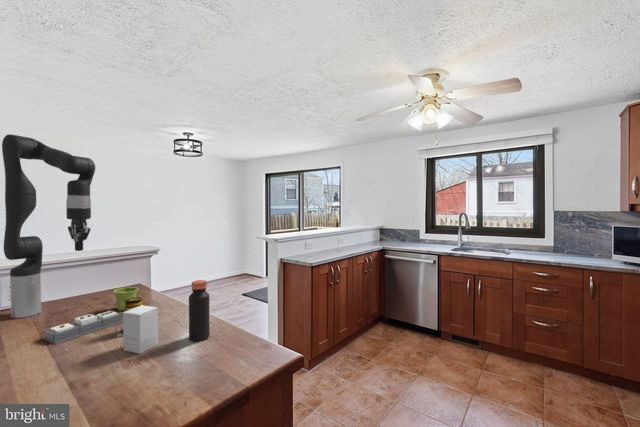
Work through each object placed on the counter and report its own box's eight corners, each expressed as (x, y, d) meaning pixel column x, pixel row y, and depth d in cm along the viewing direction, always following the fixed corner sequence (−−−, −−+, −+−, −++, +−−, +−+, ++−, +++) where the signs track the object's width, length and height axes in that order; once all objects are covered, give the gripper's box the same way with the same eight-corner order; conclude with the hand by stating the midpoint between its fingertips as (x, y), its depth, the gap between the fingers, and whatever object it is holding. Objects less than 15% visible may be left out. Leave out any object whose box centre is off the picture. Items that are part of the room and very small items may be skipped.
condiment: (144, 332, 110) (144, 299, 109) (117, 337, 105) (116, 303, 105) (143, 325, 116) (143, 294, 116) (117, 330, 111) (117, 298, 111)
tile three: (96, 321, 117) (96, 313, 117) (110, 317, 121) (110, 309, 121) (103, 324, 114) (103, 316, 114) (117, 319, 119) (117, 311, 119)
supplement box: (159, 344, 100) (159, 307, 100) (139, 354, 93) (139, 314, 93) (142, 340, 102) (142, 304, 102) (122, 350, 95) (122, 311, 95)
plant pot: (133, 304, 140) (132, 285, 140) (142, 308, 135) (142, 289, 135) (110, 309, 133) (109, 290, 133) (118, 314, 127) (118, 294, 127)
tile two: (74, 325, 110) (74, 317, 110) (90, 321, 115) (90, 313, 115) (81, 328, 108) (81, 319, 108) (97, 323, 112) (97, 315, 112)
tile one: (50, 336, 104) (50, 327, 104) (67, 330, 108) (67, 322, 108) (57, 339, 102) (57, 329, 101) (74, 333, 106) (74, 324, 106)
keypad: (42, 338, 104) (42, 329, 104) (110, 317, 123) (110, 310, 123) (55, 344, 99) (55, 335, 99) (124, 321, 119) (124, 314, 119)
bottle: (213, 335, 107) (213, 280, 106) (198, 343, 101) (198, 285, 100) (199, 332, 110) (199, 278, 109) (184, 339, 104) (184, 282, 103)
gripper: (59, 206, 117) (59, 250, 118) (75, 207, 111) (75, 253, 111) (81, 206, 124) (81, 247, 124) (98, 207, 118) (98, 250, 118)
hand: (79, 250), depth 118 cm, fingers closed
